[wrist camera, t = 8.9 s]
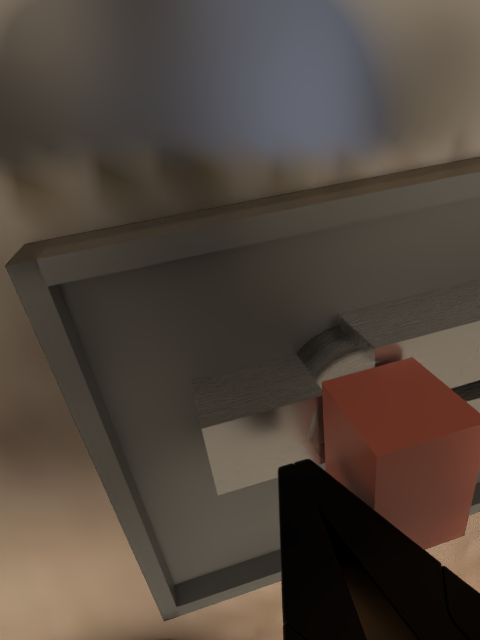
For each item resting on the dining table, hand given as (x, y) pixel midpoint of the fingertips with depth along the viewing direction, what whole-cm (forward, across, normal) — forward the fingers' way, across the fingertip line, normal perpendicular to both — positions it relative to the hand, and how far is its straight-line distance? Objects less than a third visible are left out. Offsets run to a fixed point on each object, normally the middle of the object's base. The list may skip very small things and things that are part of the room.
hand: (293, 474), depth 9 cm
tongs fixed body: (+3, -7, 0) cm, 8 cm away
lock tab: (+1, -2, 0) cm, 3 cm away
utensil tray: (+4, -7, +1) cm, 8 cm away
